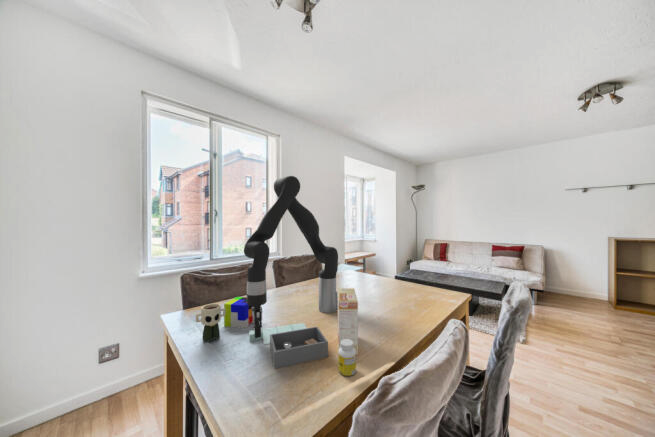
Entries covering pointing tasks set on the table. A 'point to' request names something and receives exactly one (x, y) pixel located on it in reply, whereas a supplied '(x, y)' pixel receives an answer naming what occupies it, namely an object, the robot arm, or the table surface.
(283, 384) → the table surface
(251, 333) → the lid
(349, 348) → the supplement bottle
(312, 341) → the walnut block
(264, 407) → the table surface
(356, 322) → the coffeecake box
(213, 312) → the character mug
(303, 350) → the tub
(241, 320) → the puzzle toy
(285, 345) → the steel bushing
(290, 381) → the table surface
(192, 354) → the table surface
